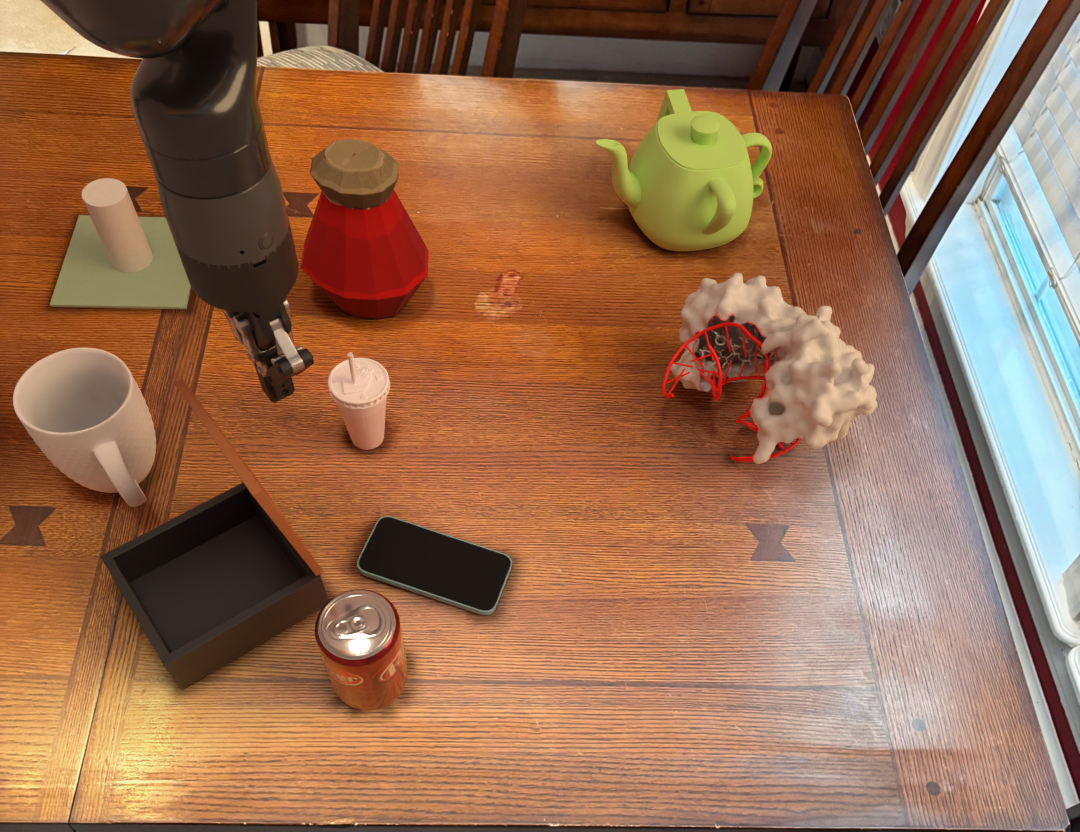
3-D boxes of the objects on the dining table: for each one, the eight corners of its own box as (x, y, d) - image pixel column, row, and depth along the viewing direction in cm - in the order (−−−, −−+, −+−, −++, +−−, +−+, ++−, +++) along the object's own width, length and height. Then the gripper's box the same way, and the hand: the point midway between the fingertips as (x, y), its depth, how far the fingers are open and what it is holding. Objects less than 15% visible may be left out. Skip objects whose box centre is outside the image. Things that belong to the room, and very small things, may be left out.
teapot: (769, 208, 126) (802, 114, 114) (704, 290, 117) (732, 197, 105) (654, 155, 130) (673, 59, 118) (582, 230, 121) (595, 135, 109)
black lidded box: (182, 690, 85) (164, 666, 80) (120, 584, 90) (99, 555, 85) (329, 603, 91) (320, 576, 85) (262, 509, 96) (251, 477, 91)
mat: (50, 307, 108) (49, 304, 108) (80, 217, 116) (79, 214, 116) (186, 309, 109) (185, 307, 109) (206, 220, 118) (205, 218, 117)
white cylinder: (107, 272, 111) (76, 205, 103) (115, 244, 114) (86, 177, 105) (149, 273, 112) (122, 207, 103) (156, 245, 114) (130, 178, 105)
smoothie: (327, 442, 101) (307, 356, 89) (362, 405, 104) (348, 317, 92) (373, 468, 99) (359, 385, 87) (407, 430, 102) (399, 345, 90)
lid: (252, 495, 70) (261, 490, 70) (173, 382, 75) (181, 377, 75) (316, 576, 85) (323, 571, 85) (246, 477, 90) (253, 473, 90)
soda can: (398, 634, 89) (389, 577, 79) (416, 700, 86) (408, 650, 76) (325, 652, 88) (306, 597, 78) (340, 721, 84) (322, 673, 74)
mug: (203, 506, 95) (167, 431, 84) (101, 555, 92) (49, 483, 80) (147, 412, 101) (107, 330, 90) (49, 454, 97) (-6, 374, 86)
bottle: (289, 318, 110) (255, 178, 93) (332, 245, 117) (307, 103, 99) (411, 349, 108) (399, 213, 91) (447, 274, 115) (442, 135, 98)
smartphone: (492, 615, 90) (353, 568, 91) (491, 620, 91) (354, 573, 92) (515, 556, 94) (381, 512, 95) (514, 561, 95) (382, 517, 96)
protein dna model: (661, 488, 109) (856, 512, 92) (600, 368, 99) (809, 369, 81) (735, 383, 118) (927, 386, 100) (687, 262, 107) (893, 243, 90)
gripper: (131, 186, 60) (200, 361, 75) (224, 305, 55) (278, 468, 70) (234, 148, 63) (280, 325, 78) (331, 258, 58) (361, 425, 73)
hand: (279, 392), depth 74 cm, fingers closed
